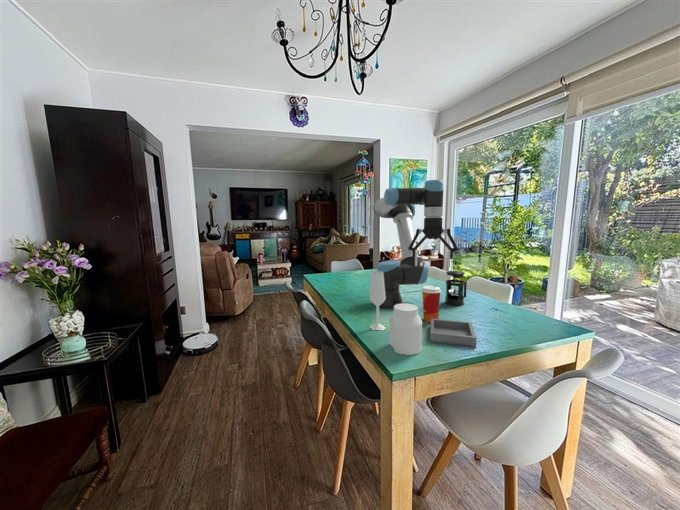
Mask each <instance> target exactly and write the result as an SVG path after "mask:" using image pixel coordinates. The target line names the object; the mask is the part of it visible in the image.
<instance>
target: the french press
mask: <svg viewBox="0 0 680 510" xmlns="http://www.w3.org/2000/svg"><path fill="white" fill-rule="evenodd" d="M450 263H454V270H447V271H446V276H451V277H452V278H454V279H447V280H445V285H446V286H445V287H446V289H445V301H444V304H445V303H446V304H445V305H447V304H448V306H451V305H453V306H452V307H462V306H464V305H465V303H464V302H465V301H464V300H465V299H466V298H467V281H466V280H459V279H462V278H464V275H465V272H464V271H459V270H457V263H461V262H460V260H450ZM452 286H453V287H454V289H452ZM456 287H458V289H456ZM461 305H462V306H461Z"/></svg>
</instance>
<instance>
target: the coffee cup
mask: <svg viewBox="0 0 680 510" xmlns="http://www.w3.org/2000/svg"><path fill="white" fill-rule="evenodd" d="M421 292H422V293H421V295H422V312H423V313H422V314H423V321H424V322H425V323H429V324H431V319H439V313H440V312H439V310H440V309H439V308H440V301H441V292H442V289H441V288H440V287H439V286H436V285H435V286H433V285H425V286H423V287H422V289H421Z"/></svg>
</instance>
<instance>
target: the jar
mask: <svg viewBox="0 0 680 510" xmlns="http://www.w3.org/2000/svg"><path fill="white" fill-rule="evenodd" d="M422 331H423V321H422V318H421V317H420V315H419V309H418V306H417V305H415V304H412V303H403V302H402V304H396V305H394V308H393V313H392V314H391V315H390V317H389V346H390V345H391V347H392V348H393V351H394V353H395V352H396V353H395V354H398V353H399V354H398V355H402V354H404V355H403V356H414V354H415V355H417V354H420V353H421V352H422V351H423V346H422V343H423V341H422V340H423V337H422V336H423V332H422Z"/></svg>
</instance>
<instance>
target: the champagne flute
mask: <svg viewBox="0 0 680 510" xmlns="http://www.w3.org/2000/svg"><path fill="white" fill-rule="evenodd" d="M370 277H371V278H370V289H369V300H370V302H371V303H372V304H373V305H374V306H375V305H376V306H375V315H376V317H375V318H376V319H375V321H376V322H375V324H372V325H370V326H371V327H370V326H369V329H370V328H371V329H372V331H374V330H383V331H384V329H385V328H386V326H385V327H384V325H383V324H381V323H380V307H379V306H380V305H381V304H382V303H383V302H384V301H385V299H386V295H385V285H384V274H383V272H382V271H377V270H374V271H371V276H370ZM371 329H370V330H371ZM385 330H386V329H385Z"/></svg>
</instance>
